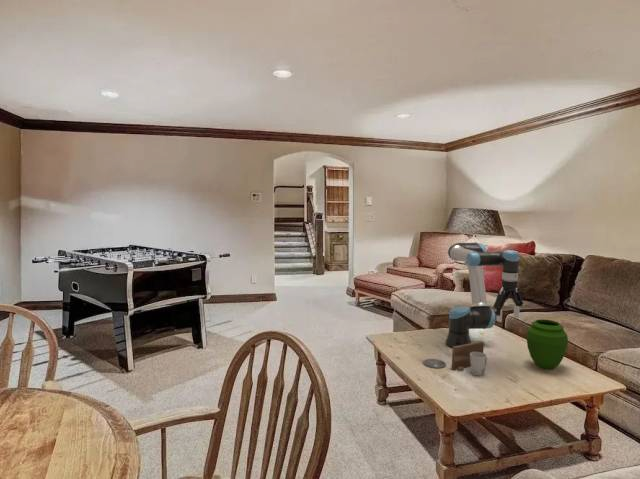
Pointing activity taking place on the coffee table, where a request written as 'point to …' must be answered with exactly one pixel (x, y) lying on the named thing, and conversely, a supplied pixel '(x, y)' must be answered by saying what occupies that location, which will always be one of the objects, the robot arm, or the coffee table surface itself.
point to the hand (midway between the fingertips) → (507, 319)
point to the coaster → (434, 363)
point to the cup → (478, 362)
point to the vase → (546, 343)
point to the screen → (464, 355)
